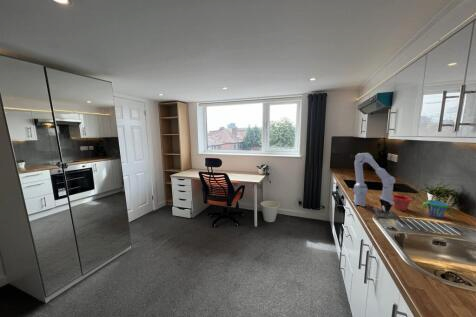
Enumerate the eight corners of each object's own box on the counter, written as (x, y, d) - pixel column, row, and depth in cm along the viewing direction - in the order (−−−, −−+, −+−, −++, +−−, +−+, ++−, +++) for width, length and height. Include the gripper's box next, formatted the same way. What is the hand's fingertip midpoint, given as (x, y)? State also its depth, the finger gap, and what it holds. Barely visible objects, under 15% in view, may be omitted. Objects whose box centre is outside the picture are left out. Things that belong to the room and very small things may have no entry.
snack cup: (448, 215, 134) (450, 202, 133) (454, 221, 125) (456, 207, 124) (418, 210, 143) (420, 198, 141) (422, 216, 134) (424, 202, 133)
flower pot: (406, 213, 139) (408, 200, 138) (389, 208, 148) (390, 196, 147) (411, 209, 145) (412, 197, 144) (393, 205, 154) (395, 193, 153)
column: (380, 213, 140) (381, 204, 139) (386, 213, 139) (387, 205, 138) (382, 215, 136) (383, 206, 135) (389, 215, 135) (390, 207, 134)
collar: (372, 210, 145) (372, 205, 144) (390, 212, 141) (391, 207, 141) (378, 217, 134) (379, 212, 133) (398, 219, 130) (399, 214, 129)
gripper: (375, 189, 143) (374, 205, 145) (387, 195, 128) (384, 214, 131) (386, 189, 141) (384, 206, 143) (398, 196, 127) (396, 214, 129)
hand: (385, 210), depth 137 cm, fingers closed on column, 4 cm apart
